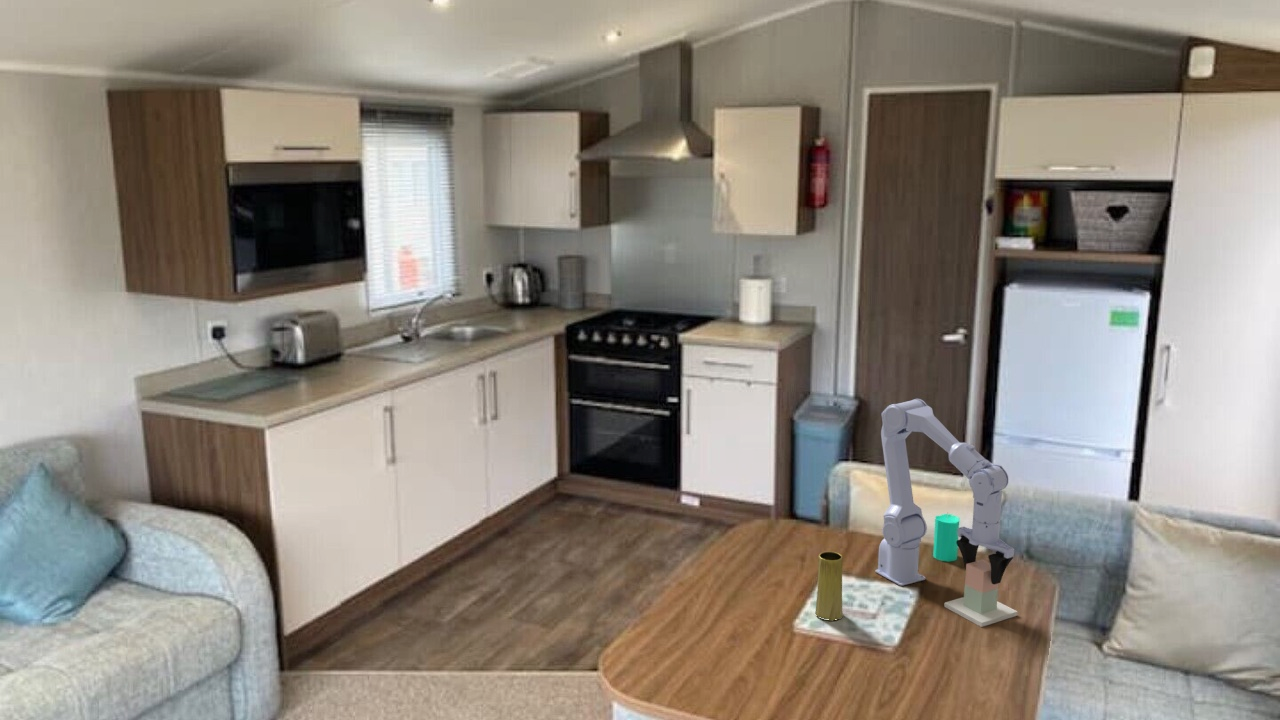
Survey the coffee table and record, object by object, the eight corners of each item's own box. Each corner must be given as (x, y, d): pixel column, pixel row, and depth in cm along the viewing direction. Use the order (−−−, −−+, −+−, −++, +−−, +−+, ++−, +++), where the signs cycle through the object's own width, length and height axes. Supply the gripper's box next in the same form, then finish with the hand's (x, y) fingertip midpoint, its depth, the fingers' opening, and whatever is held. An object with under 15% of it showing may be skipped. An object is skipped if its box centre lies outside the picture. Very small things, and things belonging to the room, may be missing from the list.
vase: (811, 618, 215) (813, 558, 212) (819, 606, 220) (821, 548, 217) (838, 623, 212) (840, 563, 209) (846, 612, 218) (848, 553, 215)
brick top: (965, 584, 217) (966, 564, 216) (981, 579, 219) (982, 559, 218) (982, 593, 213) (983, 572, 212) (998, 588, 215) (999, 567, 214)
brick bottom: (963, 605, 218) (964, 584, 217) (979, 600, 220) (980, 580, 219) (980, 614, 214) (981, 593, 213) (996, 609, 216) (998, 588, 215)
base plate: (944, 606, 219) (944, 602, 219) (979, 596, 224) (979, 592, 224) (981, 627, 210) (981, 622, 210) (1017, 615, 215) (1017, 611, 215)
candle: (954, 552, 249) (957, 508, 247) (959, 561, 243) (962, 517, 241) (930, 551, 250) (933, 508, 247) (935, 561, 244) (937, 516, 241)
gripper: (948, 512, 217) (945, 568, 220) (999, 533, 204) (995, 593, 207) (971, 506, 220) (968, 561, 223) (1022, 527, 208) (1018, 586, 210)
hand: (982, 576), depth 215 cm, fingers open, 7 cm apart
